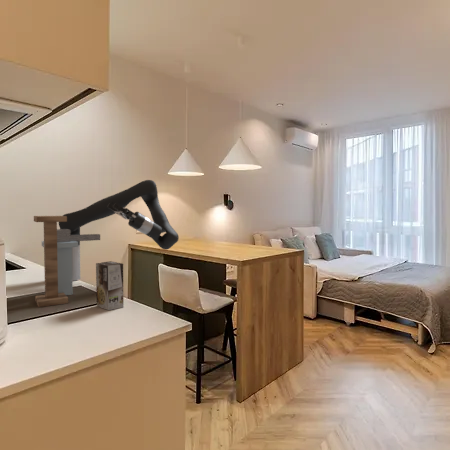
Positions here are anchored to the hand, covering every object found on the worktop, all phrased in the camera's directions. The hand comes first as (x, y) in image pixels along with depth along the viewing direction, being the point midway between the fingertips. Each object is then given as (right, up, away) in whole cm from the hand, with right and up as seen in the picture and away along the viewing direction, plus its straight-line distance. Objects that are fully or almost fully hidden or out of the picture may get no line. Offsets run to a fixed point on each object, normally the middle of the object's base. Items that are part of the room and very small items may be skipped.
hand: (111, 204), depth 155 cm
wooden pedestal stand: (-16, -39, -21) cm, 47 cm away
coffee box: (+8, -39, -27) cm, 48 cm away
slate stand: (-18, -38, -9) cm, 43 cm away
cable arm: (-13, -16, -6) cm, 21 cm away
